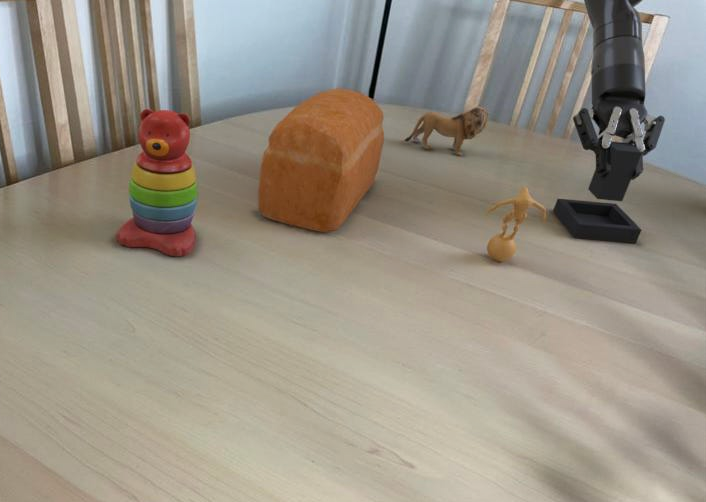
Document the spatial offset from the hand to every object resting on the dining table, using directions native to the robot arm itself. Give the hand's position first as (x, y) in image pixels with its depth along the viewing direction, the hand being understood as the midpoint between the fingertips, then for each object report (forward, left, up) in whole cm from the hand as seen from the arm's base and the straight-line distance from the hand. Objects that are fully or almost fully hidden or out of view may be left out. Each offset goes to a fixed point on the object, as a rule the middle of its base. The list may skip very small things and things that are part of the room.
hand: (619, 175), depth 115 cm
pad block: (0, -2, -4) cm, 4 cm away
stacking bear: (+69, +15, -10) cm, 71 cm away
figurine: (+20, +14, -10) cm, 26 cm away
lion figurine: (+18, -34, -10) cm, 40 cm away
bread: (+45, -4, -10) cm, 46 cm away
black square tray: (0, -2, -10) cm, 10 cm away
